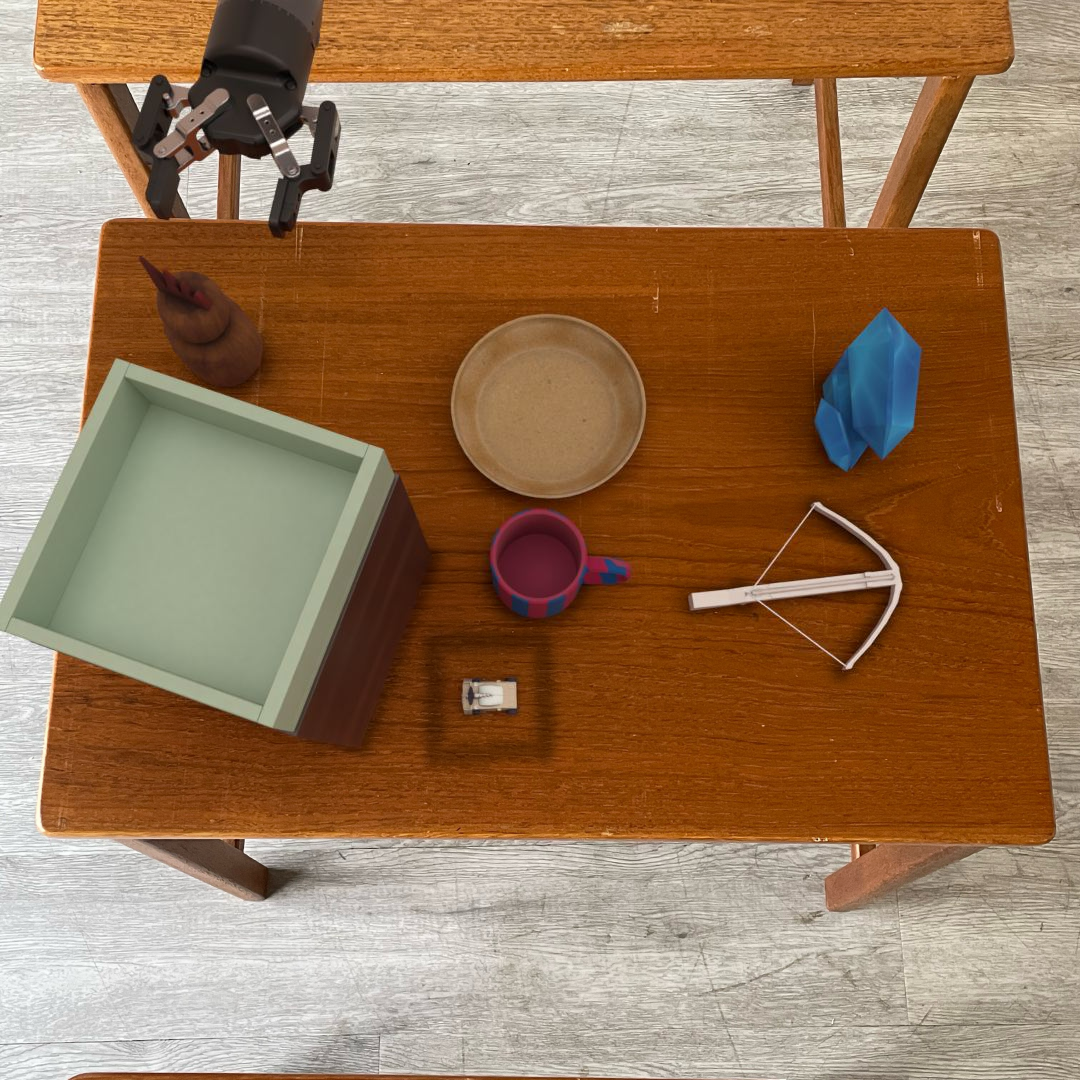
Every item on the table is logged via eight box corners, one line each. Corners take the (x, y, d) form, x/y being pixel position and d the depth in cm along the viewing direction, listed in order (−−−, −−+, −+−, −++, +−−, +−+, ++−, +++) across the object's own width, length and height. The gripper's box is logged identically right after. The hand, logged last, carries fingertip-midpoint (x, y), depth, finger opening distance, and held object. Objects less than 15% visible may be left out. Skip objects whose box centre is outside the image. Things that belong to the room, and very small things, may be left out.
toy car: (517, 714, 76) (517, 712, 74) (462, 715, 76) (460, 714, 74) (516, 678, 76) (516, 675, 74) (461, 679, 76) (460, 677, 74)
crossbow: (875, 500, 81) (886, 493, 79) (909, 662, 78) (921, 659, 76) (675, 522, 79) (681, 515, 77) (702, 688, 76) (709, 685, 74)
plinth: (167, 679, 76) (29, 641, 54) (247, 492, 79) (146, 387, 58) (359, 748, 75) (296, 737, 54) (432, 556, 78) (399, 473, 57)
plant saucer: (432, 352, 82) (429, 338, 79) (611, 308, 83) (614, 293, 80) (479, 528, 79) (478, 519, 76) (665, 479, 80) (670, 470, 77)
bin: (34, 639, 54) (-12, 626, 50) (148, 391, 57) (115, 357, 53) (293, 732, 54) (272, 728, 49) (395, 475, 57) (384, 449, 52)
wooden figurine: (173, 354, 81) (97, 262, 67) (229, 307, 82) (166, 206, 68) (229, 413, 80) (165, 332, 66) (286, 364, 81) (234, 274, 67)
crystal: (828, 468, 73) (830, 297, 73) (796, 474, 82) (798, 322, 82) (933, 469, 73) (935, 299, 73) (889, 476, 82) (892, 324, 82)
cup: (503, 522, 79) (502, 499, 72) (632, 551, 79) (642, 530, 72) (483, 607, 77) (480, 591, 71) (614, 637, 77) (623, 623, 70)
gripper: (156, -21, 75) (99, 179, 71) (351, 9, 74) (304, 211, 71) (188, 50, 82) (138, 235, 78) (366, 77, 82) (324, 264, 78)
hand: (217, 223), depth 74 cm, fingers open, 8 cm apart
